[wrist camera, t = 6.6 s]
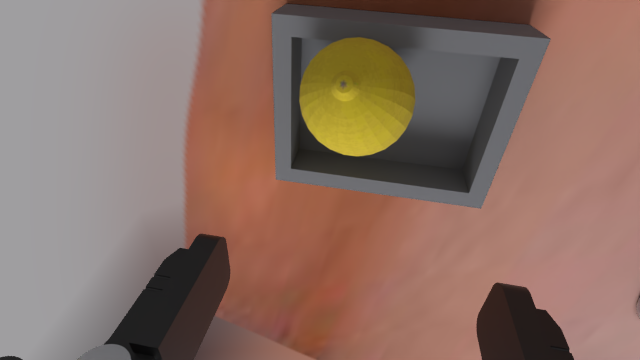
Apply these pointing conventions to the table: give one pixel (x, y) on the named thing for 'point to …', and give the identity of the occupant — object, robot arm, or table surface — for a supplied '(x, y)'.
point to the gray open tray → (430, 101)
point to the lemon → (357, 96)
